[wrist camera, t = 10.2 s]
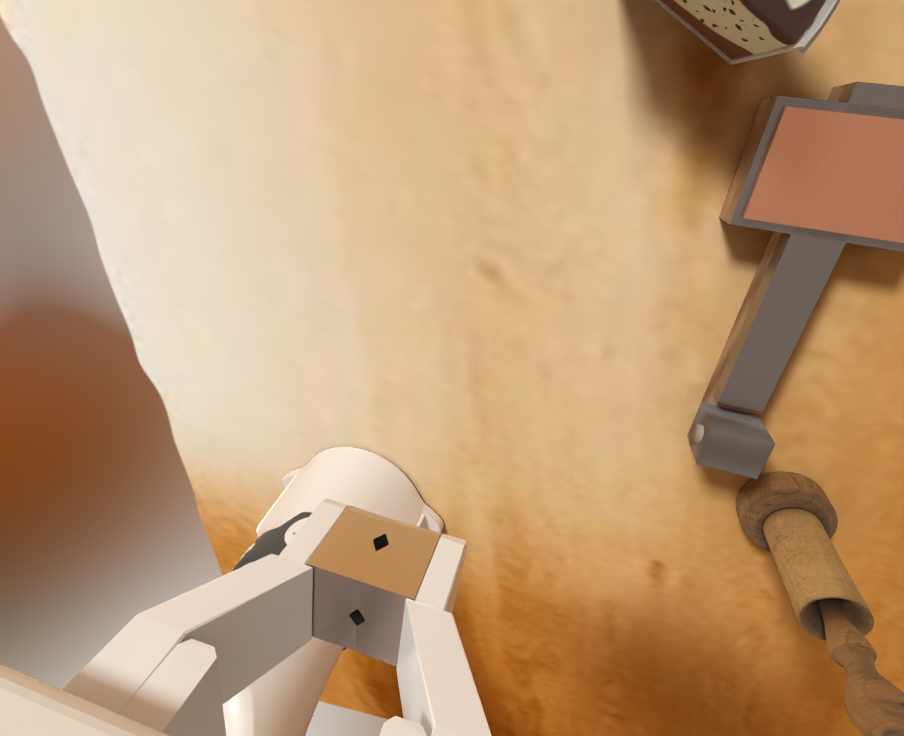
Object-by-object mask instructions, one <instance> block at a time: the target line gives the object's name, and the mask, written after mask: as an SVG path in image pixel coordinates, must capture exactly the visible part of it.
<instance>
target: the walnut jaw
mask: <svg viewBox="0 0 904 736" xmlns="http://www.w3.org/2000/svg"><path fill="white" fill-rule="evenodd" d="M843 88H844V85H841V86H837V87H833V90H832V92H831V94H830V97H829V99H828V101H833V102H838V99H839V97H840V95H841V92H842V90H843ZM768 100H769V98H766V99H762V101H761V104H760V106H759V109H758V112H757V115H756V117H755V120H754V123H753V126H752V128H751V131H750V134H749V137H748V139H747V142H746V145H745V148H744V150H743V153H742V156H741V159H740V161H739V164H738V167H737V170H736V172H735V175H734V178H733V181H732V183H731V186H730V189H729V192H728V194H727V197H726V200H725V203H724V205H723V208H722V211H721V214H720V216H719V218H721V219H722V220H725V217H726V215H727V212H728V209H729V206H730V204H731V201H732V198H733V196H734V193H735V190H736V187H737V185H738V182H739V179H740V177H741V174H742V171H743V168H744V166H745V163H746V160H747V157H748V155H749V152H750V149H751V147H752V144H753V141H754V138H755V136H756V133H757V130H758V128H759V125H760V122H761V119H762V117H763V114H764V111H765V109H766V106H767V103H768ZM781 233H782V232H776V231H773V233H772V235H771V238H770V240H769V242H768V245H767V247H766V250H765V252H764V254H763V257H762V259H761V261H760V264H759V266H758V269H757V271H756V273H755V276H754V278H753V281H752V283H751V285H750V288H749V290H748V293H747V295H746V297H745V300H744V302H743V304H742V307H741V309H740V312H739V314H738V316H737V319H736V321H735V324H734V326H733V328H732V331H731V333H730V336H729V338H728V340H727V343H726V345H725V347H724V350H723V352H722V355H721V357H720V359H719V362H718V364H717V367H716V369H715V371H714V374H713V376H712V379H711V381H710V383H709V386H708V388H707V390H706V393H705V395H704V398H703V400H702V402H701V405H700V407H699V409H698V412H697V414H696V417H695V419H694V421H693V424H692V426H691V429H690V431H689V433H688V440H689V443H690V446H692V449H693V452H694V456H695V459H696V463H697V464H699V465H703V466H707V467H711V468H715V469H719V470H723V471H727V472H731V473H735V474H739V475H743V476H747V477H751V478H755V479H757V478H758V476H759V474H760V472H761V471H762V469H763V467H764V465H765V463H766V461H767V459H768V457H769V455H770V453H771V452H772V450H773V448H774V446H775V443H774V441H773V440H772V438H771V436H770V434H769V433H768V431H767V429H766V427H765V426H764V424H763V422H762V420H761V419H760V417H759V415H757V414H753V413H751V412H752V410H750V409H745V408H741V407H736V406H732V405H728V404H723V403H719V402H718V401H717V399H716V397H715V395H714V391H715V389H716V386H717V384H718V381H719V379H720V377H721V374H722V372H723V370H724V367H725V365H726V363H727V360H728V358H729V356H730V353H731V351H732V349H733V346H734V344H735V341H736V339H737V337H738V334H739V332H740V330H741V327H742V325H743V323H744V320H745V318H746V316H747V313H748V311H749V309H750V306H751V304H752V302H753V299H754V297H755V294H756V292H757V290H758V287H759V285H760V283H761V280H762V278H763V276H764V273H765V271H766V269H767V266H768V264H769V262H770V259H771V257H772V255H773V252H774V250H775V247H776V245H777V243H778V240H779V238H780V236H781Z"/></svg>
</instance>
